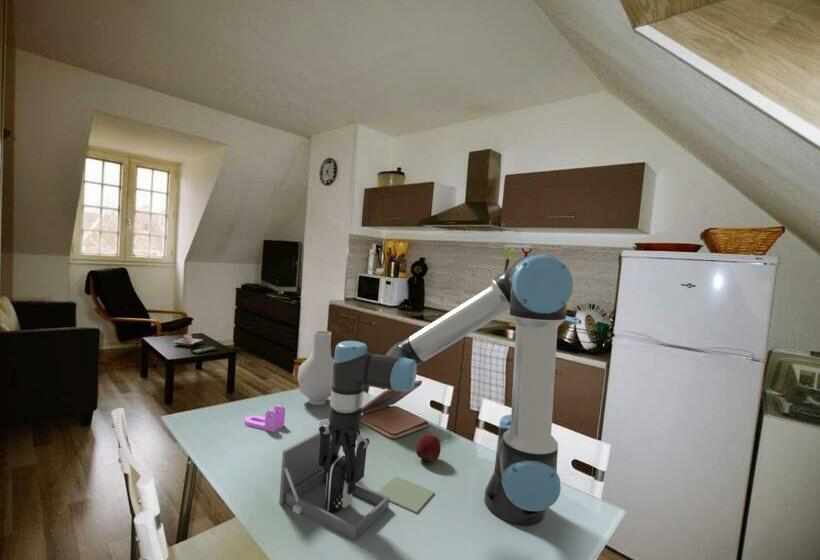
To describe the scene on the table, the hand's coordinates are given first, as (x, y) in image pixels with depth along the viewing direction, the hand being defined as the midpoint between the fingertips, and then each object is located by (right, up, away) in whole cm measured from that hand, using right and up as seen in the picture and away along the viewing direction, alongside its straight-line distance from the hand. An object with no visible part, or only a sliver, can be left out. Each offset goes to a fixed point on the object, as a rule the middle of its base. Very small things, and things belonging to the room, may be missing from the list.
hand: (338, 500), depth 96 cm
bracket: (-33, +4, +38) cm, 50 cm away
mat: (+16, -2, +7) cm, 18 cm away
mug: (-6, 0, +19) cm, 20 cm away
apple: (+23, -2, +25) cm, 34 cm away
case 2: (+11, +1, +50) cm, 51 cm away
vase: (-20, +5, +62) cm, 65 cm away
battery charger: (0, -1, 0) cm, 1 cm away
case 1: (0, -1, 0) cm, 1 cm away
